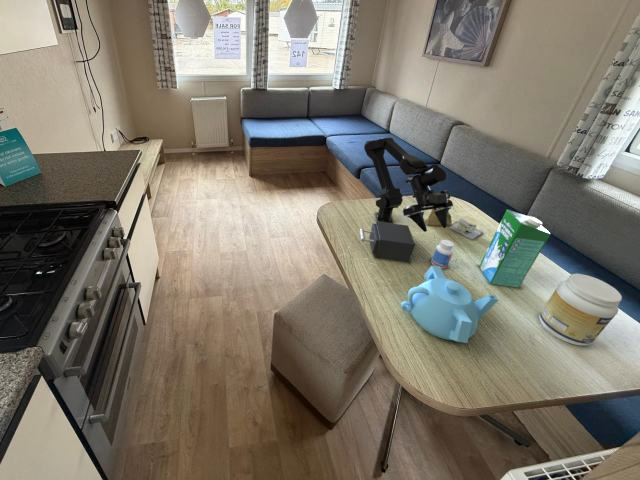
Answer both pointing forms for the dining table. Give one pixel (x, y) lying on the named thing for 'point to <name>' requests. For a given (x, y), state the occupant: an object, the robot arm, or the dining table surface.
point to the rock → (434, 220)
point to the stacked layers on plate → (466, 227)
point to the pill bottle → (442, 254)
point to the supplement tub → (580, 309)
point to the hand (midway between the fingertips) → (435, 229)
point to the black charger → (394, 242)
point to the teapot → (446, 307)
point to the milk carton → (513, 249)
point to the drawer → (371, 238)
